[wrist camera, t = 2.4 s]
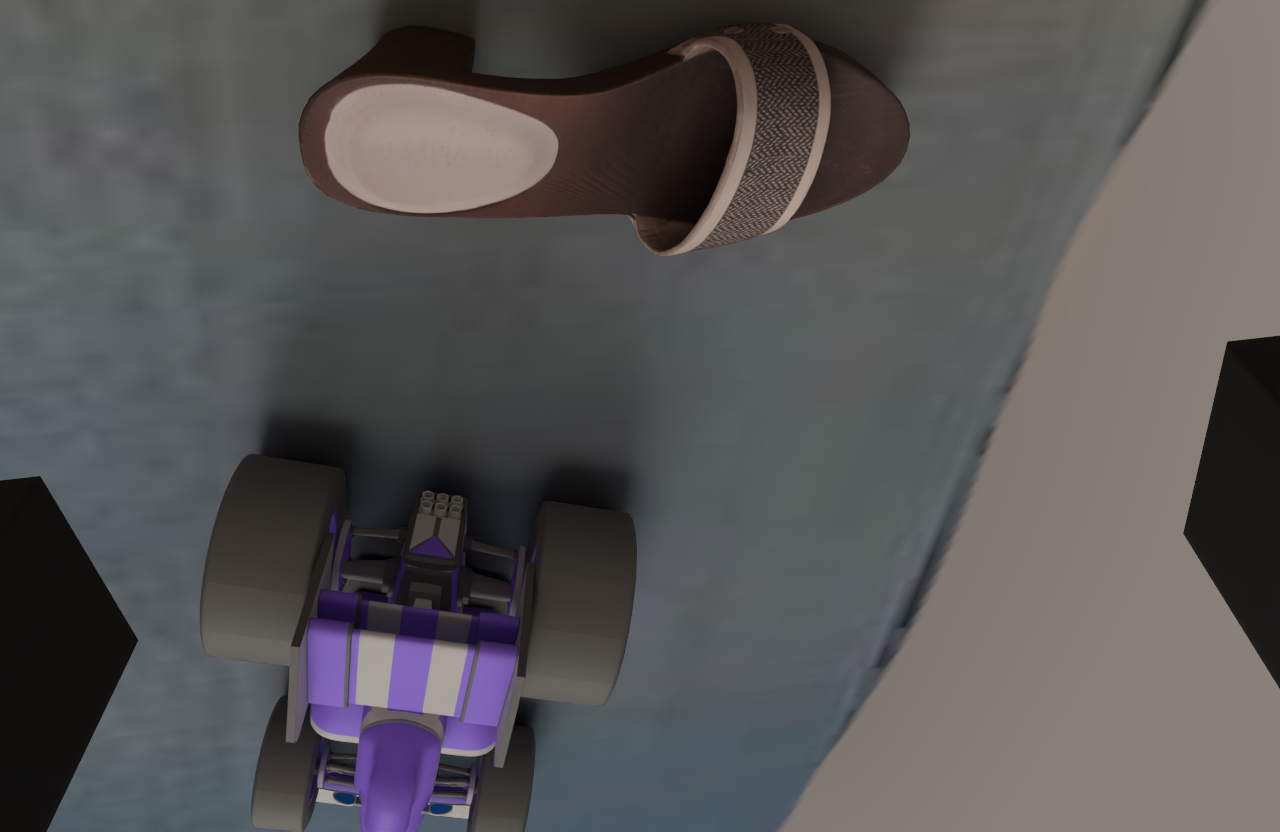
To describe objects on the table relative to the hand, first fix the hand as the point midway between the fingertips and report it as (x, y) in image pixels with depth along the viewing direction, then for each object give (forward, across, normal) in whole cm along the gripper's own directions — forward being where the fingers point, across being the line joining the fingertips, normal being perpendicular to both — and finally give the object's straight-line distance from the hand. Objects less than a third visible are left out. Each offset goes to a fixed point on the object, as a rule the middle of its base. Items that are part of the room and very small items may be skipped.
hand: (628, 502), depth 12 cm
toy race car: (+12, -8, -15) cm, 21 cm away
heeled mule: (+12, 0, 0) cm, 12 cm away
